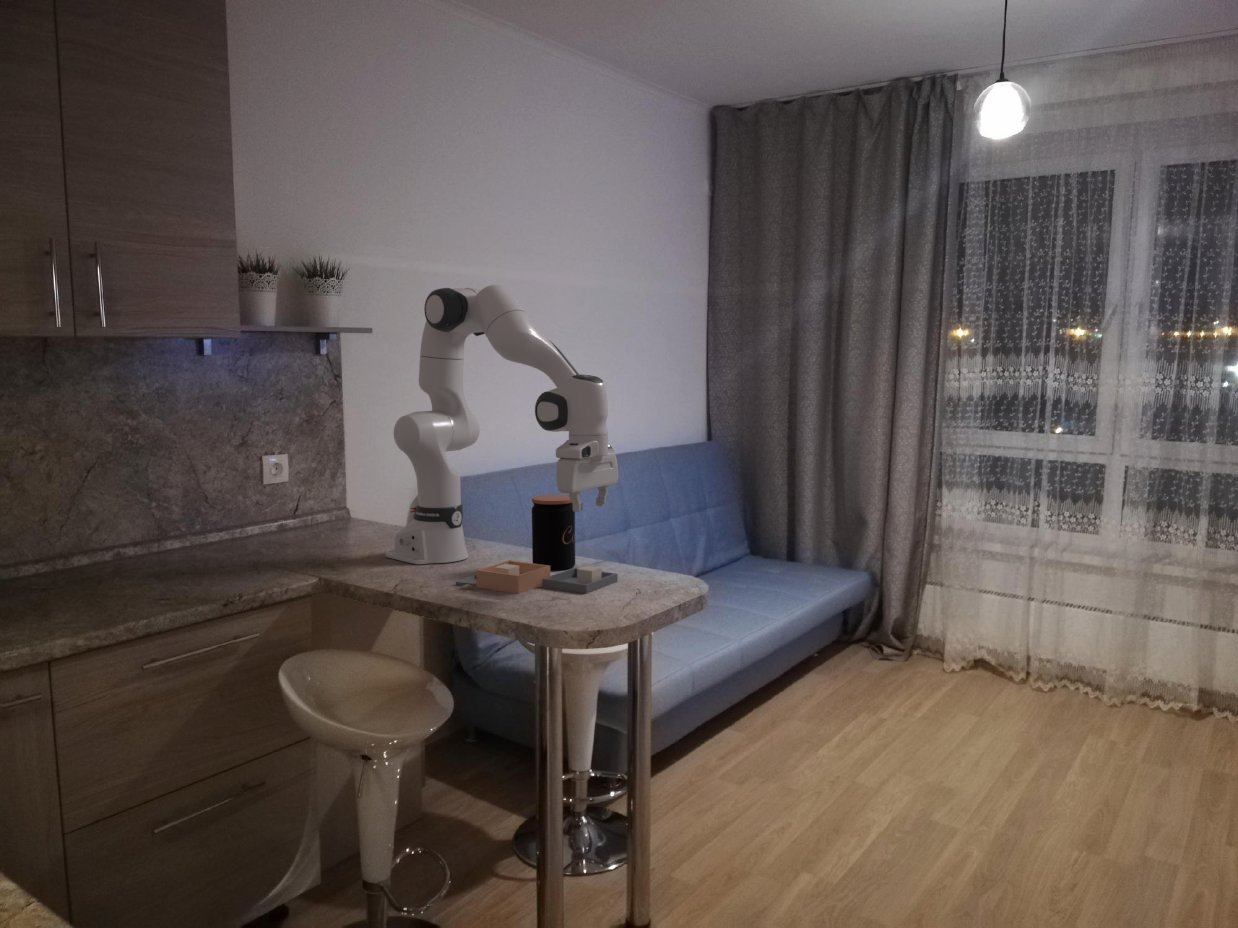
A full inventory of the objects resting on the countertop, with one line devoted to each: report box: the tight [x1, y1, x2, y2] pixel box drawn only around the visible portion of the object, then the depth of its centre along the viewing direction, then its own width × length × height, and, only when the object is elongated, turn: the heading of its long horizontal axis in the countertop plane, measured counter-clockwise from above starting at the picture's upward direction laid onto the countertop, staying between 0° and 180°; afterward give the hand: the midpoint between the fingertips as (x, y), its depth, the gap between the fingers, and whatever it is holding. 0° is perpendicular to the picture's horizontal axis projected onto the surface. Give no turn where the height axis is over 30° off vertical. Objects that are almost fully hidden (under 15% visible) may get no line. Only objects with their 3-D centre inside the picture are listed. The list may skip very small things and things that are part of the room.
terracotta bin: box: [475, 559, 551, 595], centre depth 211 cm, size 12×12×4 cm
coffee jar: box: [531, 494, 576, 572], centre depth 229 cm, size 11×11×18 cm
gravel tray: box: [541, 567, 618, 595], centre depth 211 cm, size 12×13×2 cm
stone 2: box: [577, 565, 603, 584], centre depth 210 cm, size 4×4×4 cm
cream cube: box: [495, 564, 519, 575], centre depth 212 cm, size 4×4×4 cm
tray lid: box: [455, 573, 477, 587], centre depth 216 cm, size 7×10×2 cm
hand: (589, 508), depth 208 cm, fingers open, 8 cm apart
